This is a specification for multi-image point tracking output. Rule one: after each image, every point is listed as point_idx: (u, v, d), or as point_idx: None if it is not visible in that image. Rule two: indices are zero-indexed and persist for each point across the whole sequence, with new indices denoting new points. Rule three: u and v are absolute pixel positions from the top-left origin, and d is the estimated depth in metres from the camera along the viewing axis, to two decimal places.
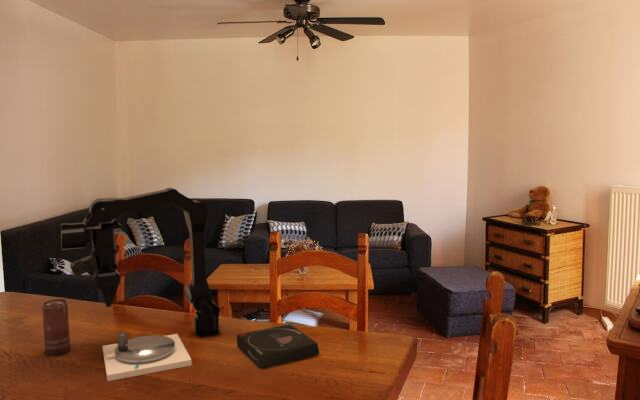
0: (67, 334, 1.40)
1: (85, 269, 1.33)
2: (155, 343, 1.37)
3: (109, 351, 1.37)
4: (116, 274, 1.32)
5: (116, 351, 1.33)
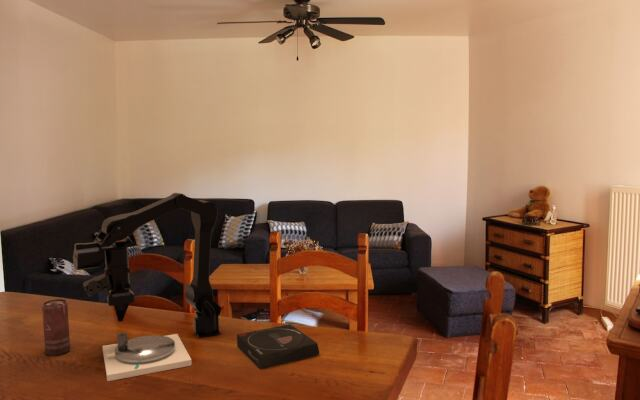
0: (67, 334, 1.40)
1: (99, 289, 1.32)
2: (155, 343, 1.37)
3: (109, 351, 1.37)
4: (130, 294, 1.31)
5: (116, 351, 1.33)
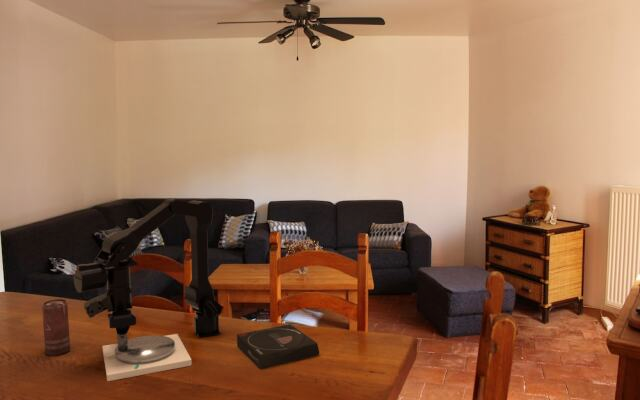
0: (67, 334, 1.40)
1: (100, 310, 1.29)
2: (155, 343, 1.37)
3: (109, 351, 1.37)
4: (132, 316, 1.28)
5: (116, 351, 1.33)
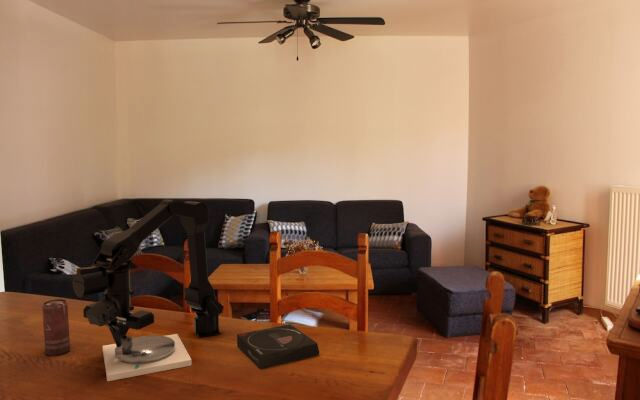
0: (67, 334, 1.40)
1: (116, 315, 1.25)
2: (153, 342, 1.38)
3: (109, 351, 1.37)
4: (152, 314, 1.30)
5: (123, 355, 1.30)
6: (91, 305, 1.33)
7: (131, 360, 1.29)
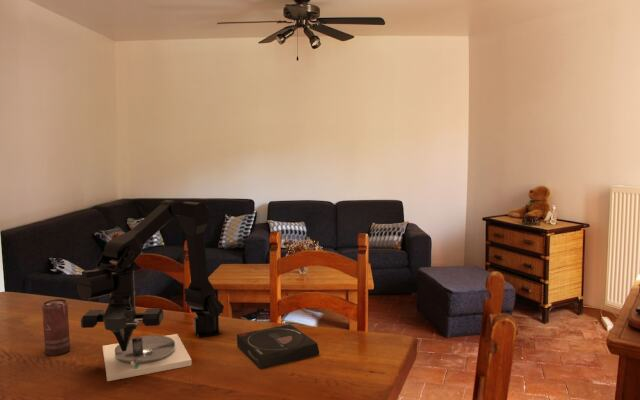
0: (67, 333, 1.40)
1: (135, 315, 1.25)
2: (147, 342, 1.39)
3: (109, 351, 1.37)
4: (162, 310, 1.32)
5: (137, 357, 1.29)
6: (88, 314, 1.27)
7: (149, 359, 1.29)
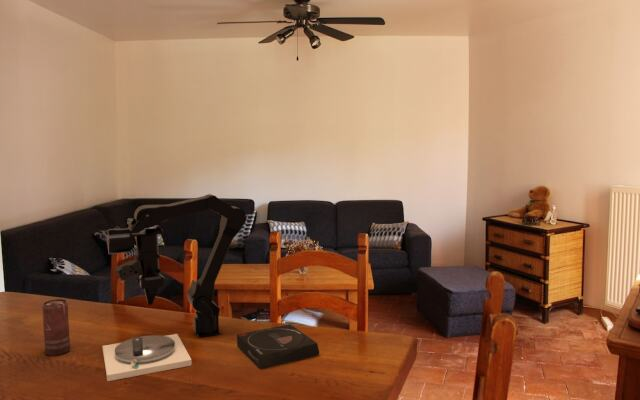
0: (67, 334, 1.40)
1: (131, 273, 1.39)
2: (147, 342, 1.39)
3: (109, 351, 1.37)
4: (161, 278, 1.38)
5: (137, 357, 1.29)
6: None
7: (149, 359, 1.29)
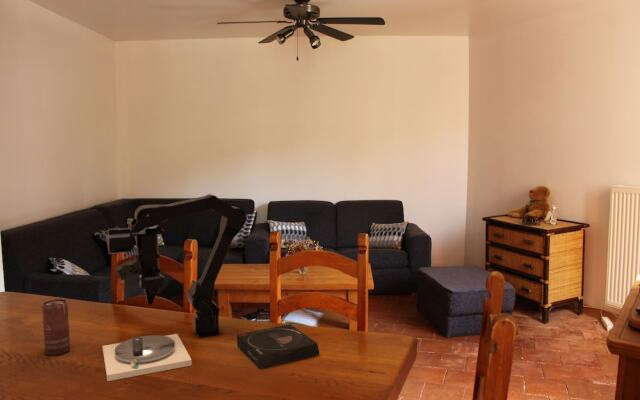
0: (67, 333, 1.40)
1: (131, 273, 1.39)
2: (147, 342, 1.39)
3: (109, 351, 1.37)
4: (161, 278, 1.38)
5: (137, 357, 1.29)
6: None
7: (149, 359, 1.29)
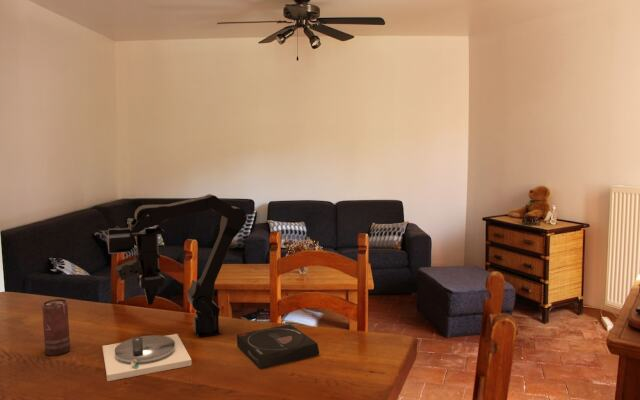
0: (66, 333, 1.40)
1: (131, 273, 1.39)
2: (147, 342, 1.39)
3: (109, 351, 1.37)
4: (161, 278, 1.38)
5: (137, 357, 1.29)
6: None
7: (149, 359, 1.29)
